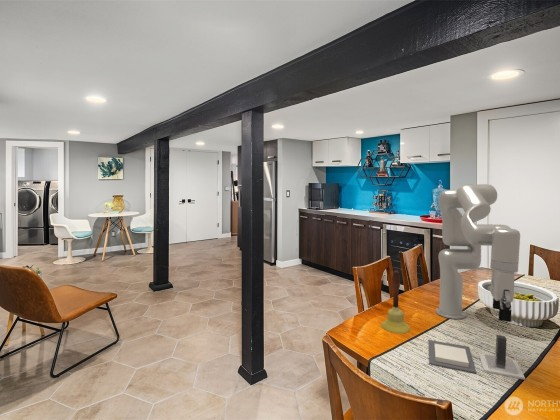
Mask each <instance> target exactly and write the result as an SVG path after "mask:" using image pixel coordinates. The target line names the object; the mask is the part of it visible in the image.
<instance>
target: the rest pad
mask: <svg viewBox="0 0 560 420" xmlns="http://www.w3.org/2000/svg"><path fill="white" fill-rule="evenodd" d="M484 355H485V354H484V353H483V354H482V353H478V357H479V361H480V363H481V367H482V370H483V372H485V373H489V374H495V375H500V376H503V377H510V378H514V379H519V380H524V381H525V380H526V377H525V375H524V373H523V371H522V369H521V367H520V366H519V363H518V362H517V360H516V359H512V361H513V363H514V365H515V367H516V369H517V371H518V374H515V373H510V372H505V371H500V370H495V369H490V368H488V365H487V362H486V359H485V357H484Z"/></svg>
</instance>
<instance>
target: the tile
mask: <svg viewBox="0 0 560 420" xmlns="http://www.w3.org/2000/svg"><path fill="white" fill-rule="evenodd" d="M435 361H437V362H443V363H448V364H453V365H458V366H463V367H468V368H469V362H468V358H467V354H466V350H465V349H463V348H457V347H451V346H446V345H440V344H435Z"/></svg>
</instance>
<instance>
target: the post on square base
mask: <svg viewBox="0 0 560 420" xmlns="http://www.w3.org/2000/svg"><path fill="white" fill-rule="evenodd" d="M495 338H496V339H495V355H491V354H483V355H484V357H485V359H486V362H487V365H488V368H490V369H495V370H500V371H505V372H510V373H515V374H518V371H517V369H516V367H515V365H514V363H513V361H512V360H513V359H512V358H508V357H507V337H506V336H505V335H501V334H496V337H495Z"/></svg>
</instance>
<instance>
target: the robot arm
mask: <svg viewBox="0 0 560 420" xmlns="http://www.w3.org/2000/svg"><path fill="white" fill-rule="evenodd" d="M497 200H498V191H497V189H496V188H495V187H494V186H493V185H492V184H487V183H485V184H484V183H483V184H482V183H481V184H478V183H477V184H464V185H462V186H459V187H458V188H457V189H445V190H443V191H441V192H440V194H439V196H438V205H439V206H438V207H439V210H440V213H441V218H442V221H441V225H442V226H441V228H442V230H441V237H442V242H443V244H444V245H445V246H450V247H466V248H445V249H442V250H440V251H439V253H438V262H439V272H440V273H439V275H440V276H439V307H436V309H435V312H436V314H437V315H439V316H441V317H444V318H447V319H452V320H463V319H465V318H466V316H467V314H466V312H465V311H464V310H463V295H464V294H463V292H464V291H463V289H464V288H463V287H464V285H463V284H464V279H463V276H462V275H461V274H460V272H458V270H477V269H479V268H480V267H481V264H482V263H481V262H482V246H486V247H487V246H488V247H489V246H490V247H491V248H490V249H491V250H490V266H489V267H490V268H489V269H491V270H492V271H491V280H490V289H489V291H490V295H491V296H492V308H493V309H494V310H498V321H502V322H507V323H510V322H512V311H513V310H512V303H513V302H514V295H515V274H516V273H518V272H519V263H520V246H521V233H520V231H519V230H518V229H515V228H512V227H510V226H509V225H506V224H492V223H491V224H485V223H484V224H483V223H481V224H479V223H477V224H476V223H475V222H479V221H481V220H482V219H485V218H486V217H487V216H489V215H490V213H491V209H492V208H491V205H493V204H495V203H496V201H497ZM459 209H463V211H464V213H463V214H462V213H461V211H460V210H459Z"/></svg>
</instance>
